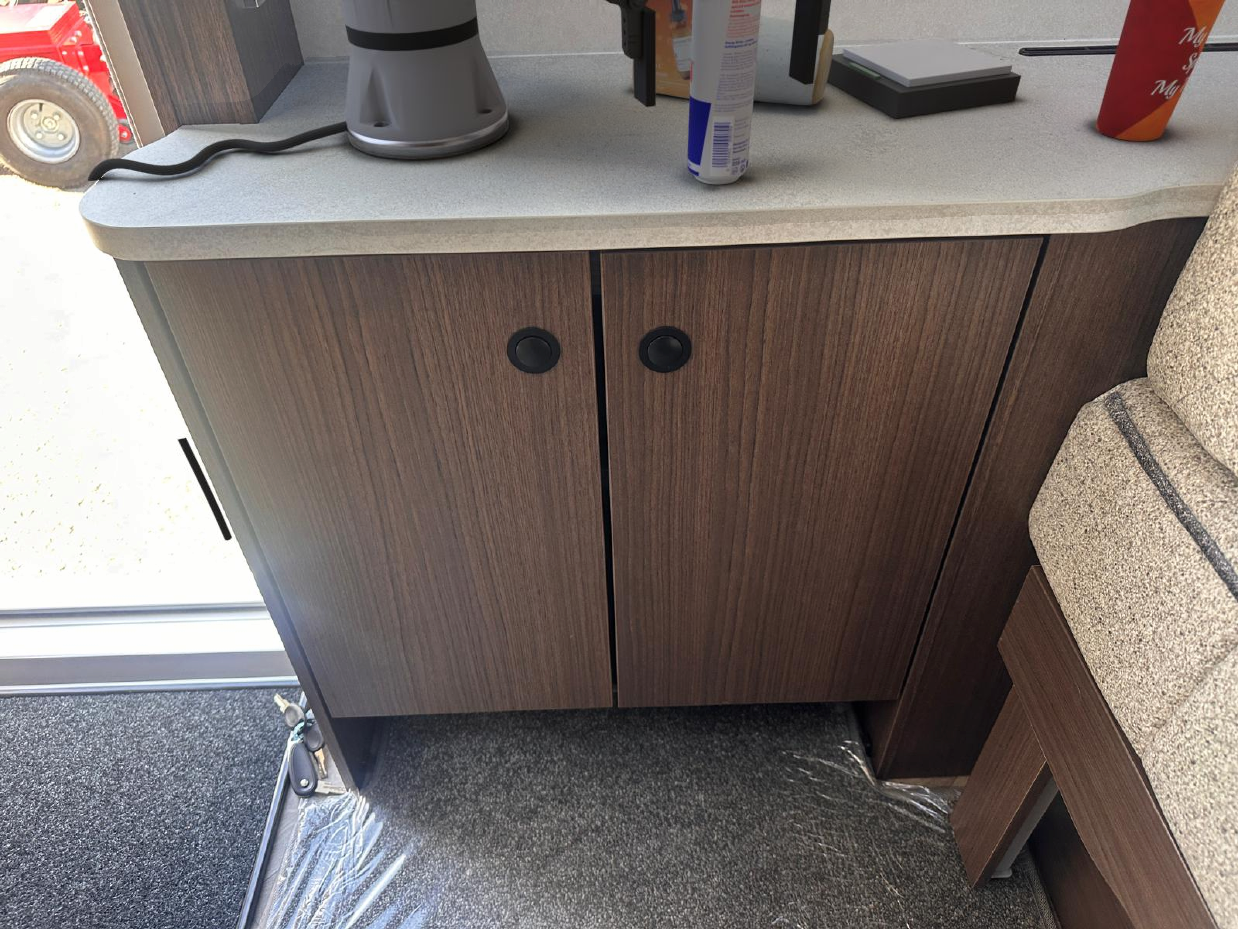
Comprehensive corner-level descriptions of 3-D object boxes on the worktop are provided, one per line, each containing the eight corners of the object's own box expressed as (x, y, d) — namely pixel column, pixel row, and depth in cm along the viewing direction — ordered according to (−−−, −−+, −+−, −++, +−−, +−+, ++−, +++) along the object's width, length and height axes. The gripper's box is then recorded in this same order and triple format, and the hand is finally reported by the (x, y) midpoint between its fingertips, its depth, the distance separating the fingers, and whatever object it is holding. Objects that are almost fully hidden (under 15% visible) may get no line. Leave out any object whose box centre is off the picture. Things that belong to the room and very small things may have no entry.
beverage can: (731, 161, 74) (745, -35, 64) (756, 182, 70) (775, -22, 60) (677, 169, 72) (683, -29, 63) (700, 191, 69) (710, -16, 59)
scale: (895, 118, 81) (902, 83, 79) (822, 78, 91) (826, 47, 89) (1014, 100, 84) (1024, 66, 82) (931, 64, 95) (937, 33, 92)
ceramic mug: (818, 116, 82) (830, 29, 77) (736, 109, 84) (742, 24, 79) (831, 86, 90) (842, 5, 85) (755, 80, 92) (762, 1, 87)
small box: (631, 91, 89) (630, -21, 82) (653, 77, 93) (654, -32, 86) (700, 101, 86) (705, -15, 79) (720, 86, 90) (727, -26, 83)
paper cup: (1170, 150, 73) (1244, -32, 64) (1076, 136, 77) (1134, -40, 67) (1179, 124, 78) (1249, -49, 69) (1090, 111, 82) (1147, -56, 72)
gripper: (571, -261, 47) (590, 126, 61) (946, -272, 53) (887, 83, 67) (536, -257, 52) (560, 97, 66) (880, -267, 58) (837, 60, 72)
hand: (724, 91), depth 66 cm, fingers open, 13 cm apart
